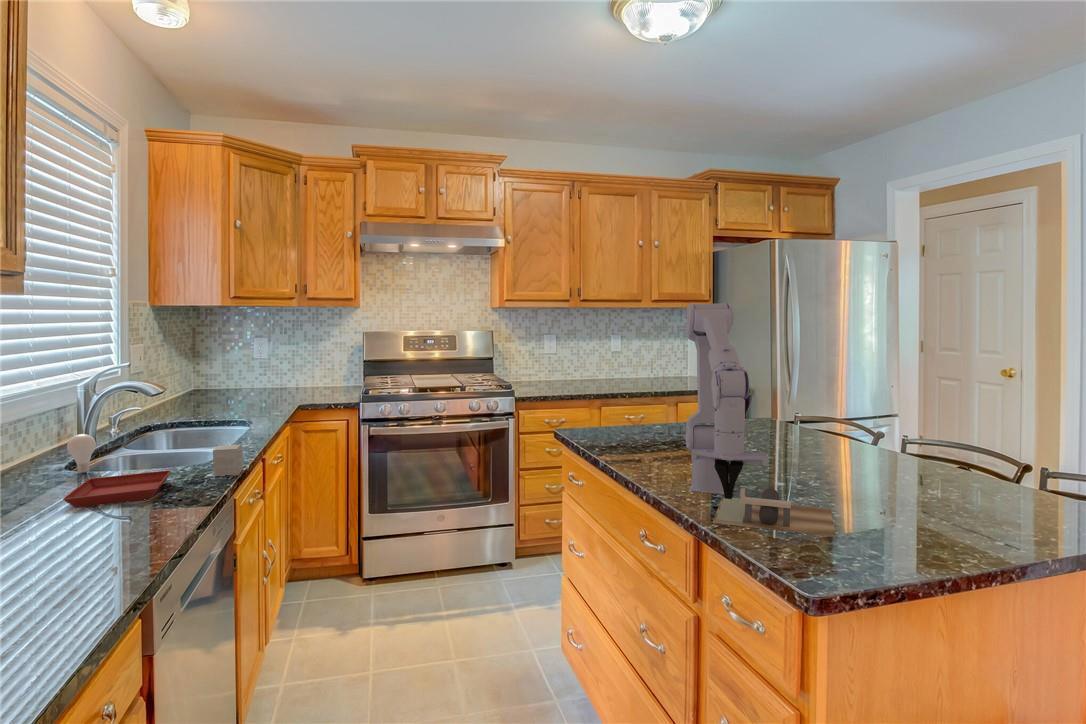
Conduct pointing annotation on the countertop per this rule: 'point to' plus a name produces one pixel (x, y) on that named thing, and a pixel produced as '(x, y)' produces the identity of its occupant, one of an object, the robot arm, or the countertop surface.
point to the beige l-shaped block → (763, 501)
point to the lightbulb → (81, 450)
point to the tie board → (788, 518)
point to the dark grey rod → (769, 508)
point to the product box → (227, 460)
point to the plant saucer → (117, 489)
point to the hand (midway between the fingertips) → (728, 497)
